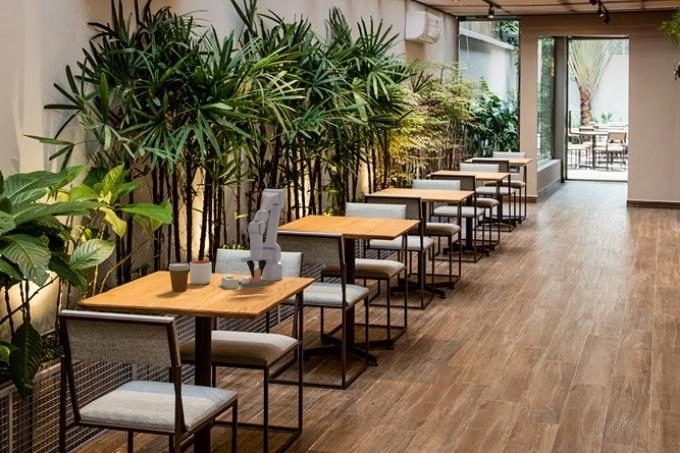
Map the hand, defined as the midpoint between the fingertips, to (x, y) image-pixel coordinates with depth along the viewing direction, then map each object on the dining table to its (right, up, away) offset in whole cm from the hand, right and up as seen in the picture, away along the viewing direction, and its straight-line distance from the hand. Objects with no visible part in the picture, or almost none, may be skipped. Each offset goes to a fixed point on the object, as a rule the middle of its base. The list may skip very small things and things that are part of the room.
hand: (256, 276), depth 468 cm
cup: (-27, -4, +9) cm, 29 cm away
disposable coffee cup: (-34, -6, -10) cm, 36 cm away
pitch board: (-6, -5, 0) cm, 8 cm away
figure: (0, -4, +1) cm, 4 cm away
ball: (-5, -2, -2) cm, 6 cm away
